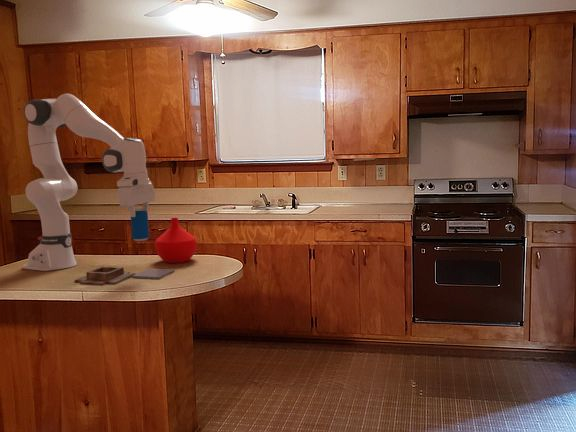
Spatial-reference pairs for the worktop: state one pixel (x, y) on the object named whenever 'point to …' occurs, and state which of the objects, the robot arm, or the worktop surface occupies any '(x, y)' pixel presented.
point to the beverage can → (140, 225)
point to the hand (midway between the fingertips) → (139, 215)
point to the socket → (105, 276)
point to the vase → (175, 244)
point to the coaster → (153, 273)
